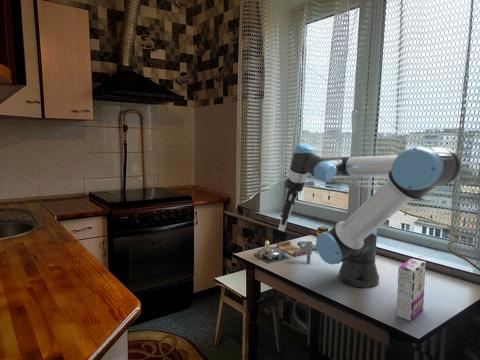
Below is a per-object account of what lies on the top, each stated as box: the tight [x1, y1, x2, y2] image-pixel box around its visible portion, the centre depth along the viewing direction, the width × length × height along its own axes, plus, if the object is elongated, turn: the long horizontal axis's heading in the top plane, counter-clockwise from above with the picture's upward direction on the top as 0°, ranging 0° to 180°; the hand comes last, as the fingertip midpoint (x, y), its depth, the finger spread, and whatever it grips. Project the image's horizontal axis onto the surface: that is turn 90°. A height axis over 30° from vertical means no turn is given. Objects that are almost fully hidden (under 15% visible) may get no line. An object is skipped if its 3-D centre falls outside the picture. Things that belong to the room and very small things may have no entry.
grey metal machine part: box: [257, 240, 286, 259], centre depth 155 cm, size 13×13×8 cm
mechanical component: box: [296, 240, 317, 265], centre depth 147 cm, size 3×10×10 cm, turn 89°
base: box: [253, 252, 290, 264], centre depth 156 cm, size 12×12×1 cm
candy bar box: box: [396, 258, 427, 322], centre depth 105 cm, size 11×5×16 cm, turn 135°
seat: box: [276, 240, 307, 258], centre depth 164 cm, size 15×8×2 cm, turn 29°
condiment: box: [313, 226, 329, 254], centre depth 164 cm, size 7×8×12 cm
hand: (283, 223), depth 145 cm, fingers open, 13 cm apart
